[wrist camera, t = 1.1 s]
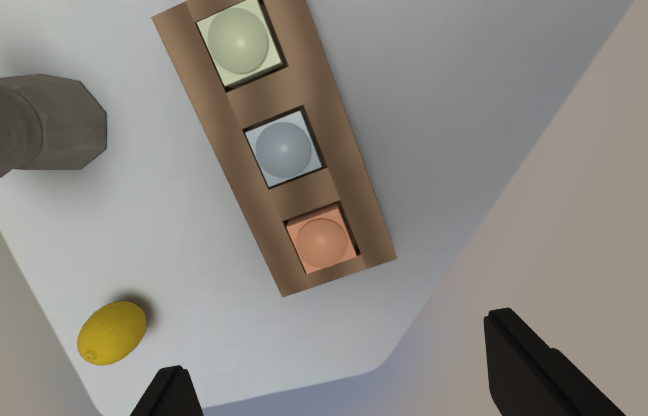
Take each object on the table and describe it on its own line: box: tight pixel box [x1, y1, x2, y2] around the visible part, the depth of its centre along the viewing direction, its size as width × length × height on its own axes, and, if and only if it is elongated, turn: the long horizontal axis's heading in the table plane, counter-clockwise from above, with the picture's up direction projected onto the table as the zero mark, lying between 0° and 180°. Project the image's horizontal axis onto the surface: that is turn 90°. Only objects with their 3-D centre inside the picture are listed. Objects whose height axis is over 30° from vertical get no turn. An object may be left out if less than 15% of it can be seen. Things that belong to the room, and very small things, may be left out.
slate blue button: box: [245, 111, 322, 187], centre depth 30 cm, size 5×5×3 cm
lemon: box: [77, 301, 147, 365], centre depth 36 cm, size 6×6×8 cm
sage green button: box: [197, 0, 285, 88], centre depth 28 cm, size 5×5×3 cm
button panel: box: [151, 0, 397, 297], centre depth 32 cm, size 12×27×4 cm, turn 21°
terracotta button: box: [287, 202, 357, 274], centre depth 33 cm, size 5×5×3 cm
